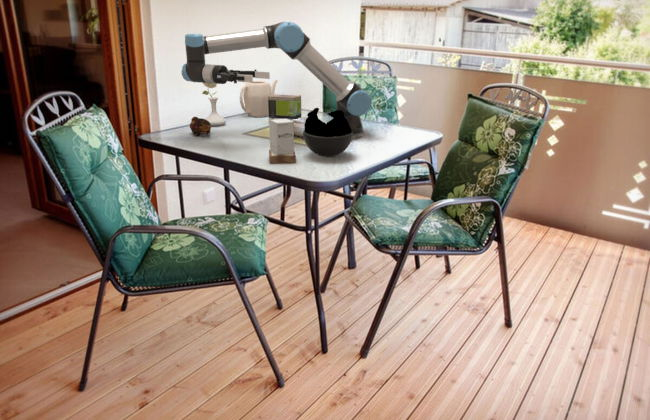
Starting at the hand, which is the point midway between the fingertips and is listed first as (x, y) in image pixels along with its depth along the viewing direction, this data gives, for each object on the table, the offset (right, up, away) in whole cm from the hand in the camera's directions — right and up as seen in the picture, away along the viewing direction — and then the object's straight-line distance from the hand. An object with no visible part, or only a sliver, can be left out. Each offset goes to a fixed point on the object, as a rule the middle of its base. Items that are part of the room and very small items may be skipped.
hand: (261, 77), depth 199 cm
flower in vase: (-32, -9, +58) cm, 67 cm away
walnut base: (+9, -34, -3) cm, 35 cm away
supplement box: (+9, -31, -4) cm, 32 cm away
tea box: (+5, -8, +64) cm, 65 cm away
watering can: (-11, 0, +84) cm, 85 cm away
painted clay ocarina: (-33, -18, +37) cm, 52 cm away
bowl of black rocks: (+27, -32, +3) cm, 41 cm away
